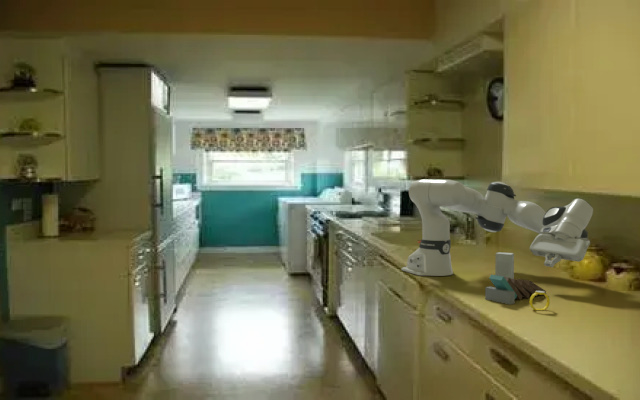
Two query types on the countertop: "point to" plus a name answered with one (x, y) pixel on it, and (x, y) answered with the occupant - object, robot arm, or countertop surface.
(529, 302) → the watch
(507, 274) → the skincare box
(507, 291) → the end block
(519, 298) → the domino
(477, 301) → the countertop surface
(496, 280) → the domino
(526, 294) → the domino
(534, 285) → the domino
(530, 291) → the domino
